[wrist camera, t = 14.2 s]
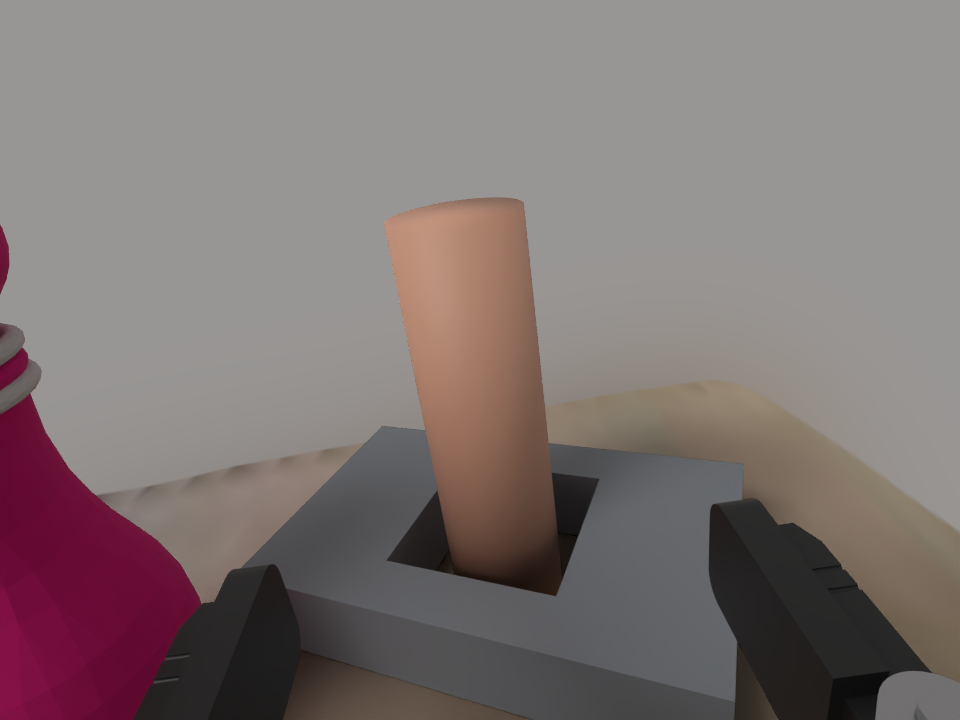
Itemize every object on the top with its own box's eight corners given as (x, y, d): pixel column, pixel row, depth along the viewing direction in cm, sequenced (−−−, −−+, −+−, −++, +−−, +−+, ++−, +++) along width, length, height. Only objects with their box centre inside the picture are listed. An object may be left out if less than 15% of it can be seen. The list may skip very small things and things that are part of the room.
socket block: (258, 637, 22) (233, 575, 21) (394, 476, 30) (382, 426, 29) (730, 778, 16) (734, 701, 14) (739, 526, 24) (743, 464, 22)
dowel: (440, 610, 22) (356, 233, 16) (481, 537, 25) (424, 201, 19) (544, 636, 20) (493, 227, 15) (574, 554, 24) (541, 193, 18)
